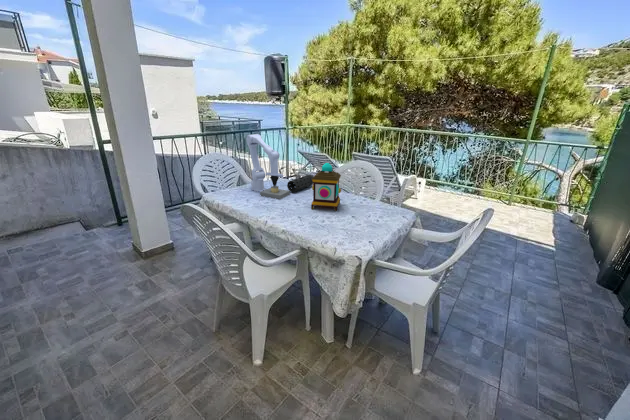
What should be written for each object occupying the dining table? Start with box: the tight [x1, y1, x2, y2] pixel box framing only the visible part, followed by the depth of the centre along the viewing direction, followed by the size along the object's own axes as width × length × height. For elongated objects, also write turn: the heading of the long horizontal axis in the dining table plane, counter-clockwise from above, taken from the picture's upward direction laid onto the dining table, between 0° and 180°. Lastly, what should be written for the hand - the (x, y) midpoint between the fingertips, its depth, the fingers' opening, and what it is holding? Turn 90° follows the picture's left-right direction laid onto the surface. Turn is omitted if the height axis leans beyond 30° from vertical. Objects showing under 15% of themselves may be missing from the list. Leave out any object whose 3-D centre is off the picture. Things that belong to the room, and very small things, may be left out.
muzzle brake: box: [286, 174, 315, 194], centre depth 228 cm, size 10×28×10 cm, turn 147°
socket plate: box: [259, 187, 291, 200], centre depth 212 cm, size 18×14×3 cm
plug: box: [270, 185, 280, 193], centre depth 211 cm, size 4×4×7 cm
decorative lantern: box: [310, 162, 342, 212], centre depth 185 cm, size 20×20×30 cm
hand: (274, 185), depth 210 cm, fingers closed
